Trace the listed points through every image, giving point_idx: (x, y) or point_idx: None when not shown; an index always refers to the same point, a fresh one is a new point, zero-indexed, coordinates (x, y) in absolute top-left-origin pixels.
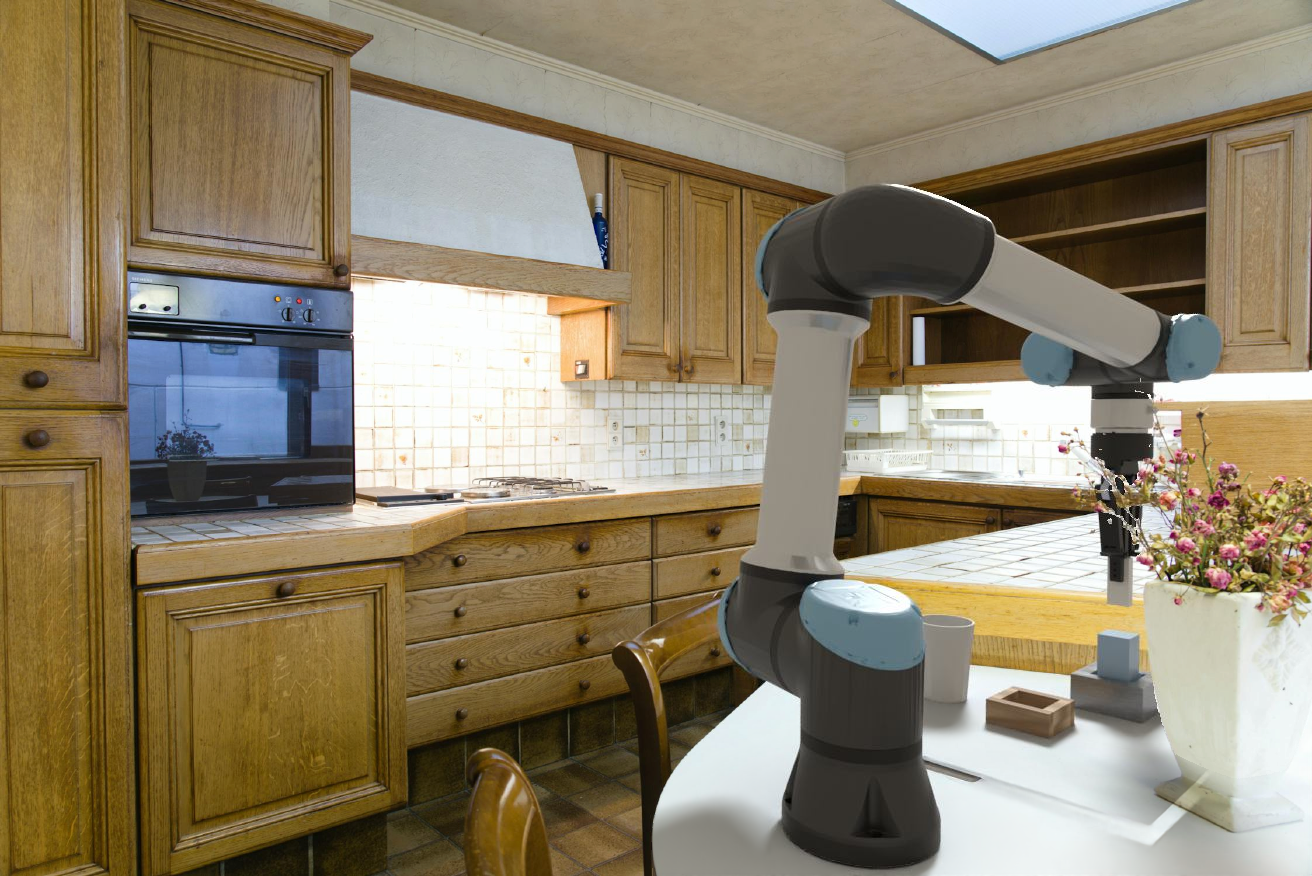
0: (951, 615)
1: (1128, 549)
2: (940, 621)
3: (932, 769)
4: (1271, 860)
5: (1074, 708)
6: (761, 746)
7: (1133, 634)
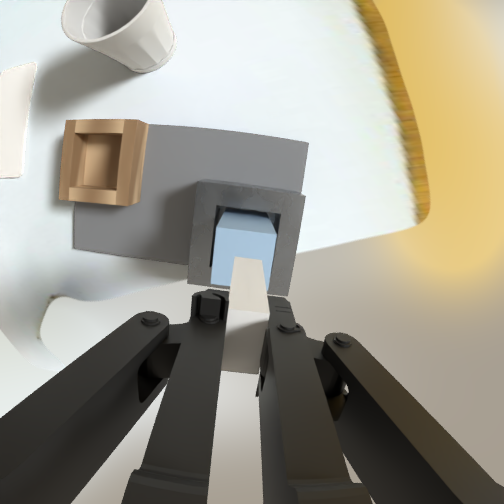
0: None
1: (260, 380)
2: None
3: None
4: (25, 355)
5: (131, 204)
6: None
7: None
